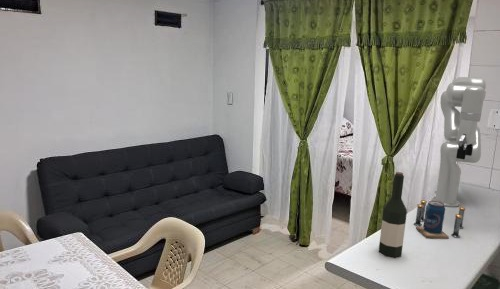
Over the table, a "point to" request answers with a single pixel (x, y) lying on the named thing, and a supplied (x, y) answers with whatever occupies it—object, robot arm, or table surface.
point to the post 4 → (461, 212)
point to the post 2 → (423, 209)
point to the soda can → (434, 217)
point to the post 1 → (419, 215)
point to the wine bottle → (393, 221)
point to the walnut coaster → (432, 236)
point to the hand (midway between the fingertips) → (463, 156)
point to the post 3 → (456, 226)
